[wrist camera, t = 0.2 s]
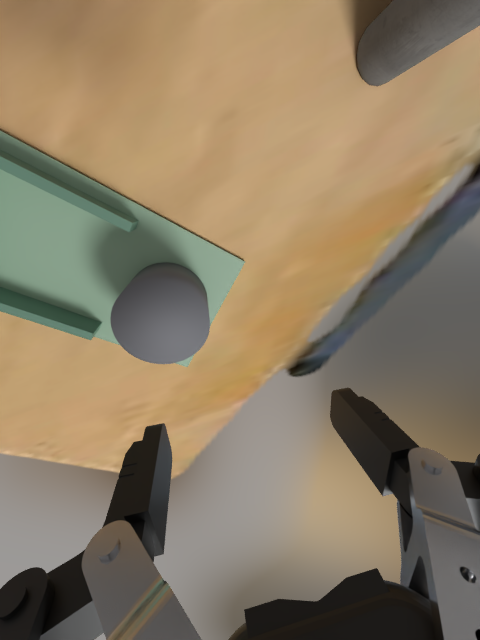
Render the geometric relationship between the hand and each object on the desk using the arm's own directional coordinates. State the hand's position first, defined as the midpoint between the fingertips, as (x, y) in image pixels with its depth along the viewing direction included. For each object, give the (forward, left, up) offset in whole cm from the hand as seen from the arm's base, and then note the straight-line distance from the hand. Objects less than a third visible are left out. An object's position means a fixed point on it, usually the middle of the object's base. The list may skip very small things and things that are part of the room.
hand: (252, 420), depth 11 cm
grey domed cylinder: (+5, -4, -23) cm, 24 cm away
